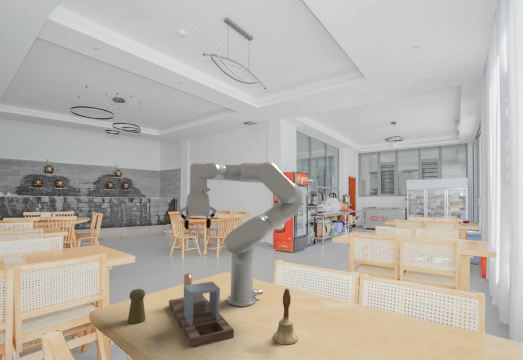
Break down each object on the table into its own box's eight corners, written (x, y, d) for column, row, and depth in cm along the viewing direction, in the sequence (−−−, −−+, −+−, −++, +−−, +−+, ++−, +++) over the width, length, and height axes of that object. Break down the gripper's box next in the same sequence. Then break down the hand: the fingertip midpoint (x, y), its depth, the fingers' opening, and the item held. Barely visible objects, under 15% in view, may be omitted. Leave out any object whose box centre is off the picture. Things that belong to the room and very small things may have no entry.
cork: (139, 325, 104) (139, 293, 104) (123, 323, 105) (124, 292, 106) (148, 317, 110) (149, 288, 110) (134, 316, 111) (135, 286, 111)
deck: (233, 337, 97) (233, 329, 97) (191, 347, 90) (191, 339, 90) (202, 300, 127) (202, 294, 127) (168, 306, 121) (169, 300, 121)
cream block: (198, 304, 116) (199, 289, 116) (202, 309, 112) (203, 293, 112) (186, 307, 114) (186, 291, 114) (189, 312, 110) (189, 295, 110)
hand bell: (291, 330, 102) (292, 284, 102) (302, 342, 94) (303, 292, 94) (269, 334, 99) (270, 286, 100) (278, 346, 91) (279, 294, 92)
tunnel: (219, 319, 104) (219, 288, 104) (189, 325, 99) (190, 292, 99) (211, 311, 111) (212, 281, 111) (184, 316, 106) (184, 285, 106)
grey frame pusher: (206, 308, 112) (206, 283, 112) (186, 312, 108) (187, 285, 109) (195, 295, 125) (195, 272, 126) (177, 298, 122) (178, 274, 122)
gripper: (213, 190, 141) (213, 226, 140) (177, 190, 133) (176, 228, 132) (219, 191, 134) (218, 228, 134) (181, 190, 126) (180, 230, 126)
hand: (197, 228), depth 133 cm, fingers open, 9 cm apart
